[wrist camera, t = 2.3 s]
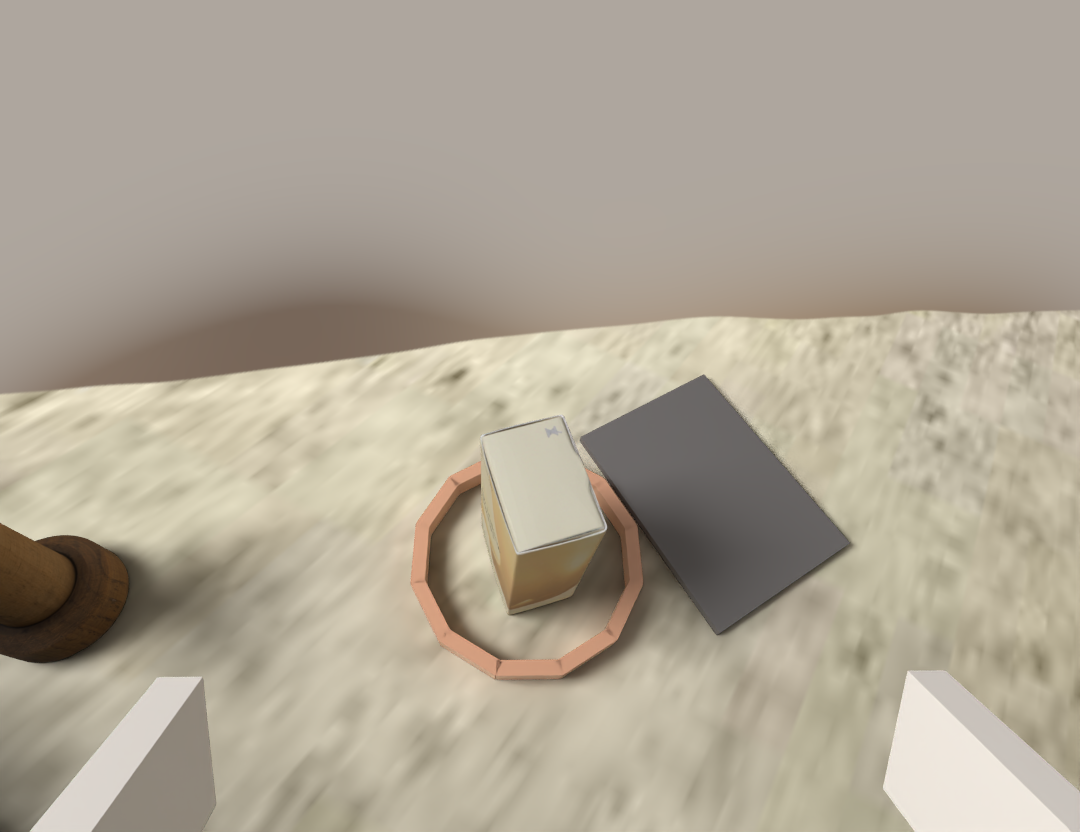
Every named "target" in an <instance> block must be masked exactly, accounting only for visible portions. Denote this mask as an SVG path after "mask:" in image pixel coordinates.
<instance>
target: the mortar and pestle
mask: <svg viewBox="0 0 1080 832" xmlns="http://www.w3.org/2000/svg"><path fill="white" fill-rule="evenodd" d="M128 587H129V579H128V573H127V570H126V568H125V566H124V564H123V562H122V561H121V560H120V559H119V558H118V557H117V556H116V555H115V554H114V553H112V552H111V551H109V550H107V549H105V548H103V547H101V546H100V545H98V544H96V543H94V542H92V541H90V540H88V539H85V538H82V537H78V536H70V535H61V536H53V537H47V538H44V539H40V540H37V541H33V540H31V539H29V538H28V537H26V536H24V535H22V534H20V533H18V532H16V531H14V530H12V529H10V528H8V527H7V526H5V525H3V524H1V523H0V654H2V655H5V656H9V657H12V658H16V659H19V660H23V661H27V662H34V663H45V662H53V661H57V660H61V659H64V658H67V657H69V656H72V655H73V654H75V653H77V652H79V651H81V650H83V649H84V648H86V647H88V646H90V645H91V644H92V643H94V642H95V641H96V640H97V639H99V638H100V637H101V636H102V635H103V634H104V633H105V632H106V631H107V630H108V629H109V628H110V627H111V625H112V624H113V623H114V622H115V620H116V619H117V617H118V615H119V614H120V612H121V610H122V608H123V606H124V604H125V601H126V598H127V594H128Z"/></svg>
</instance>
